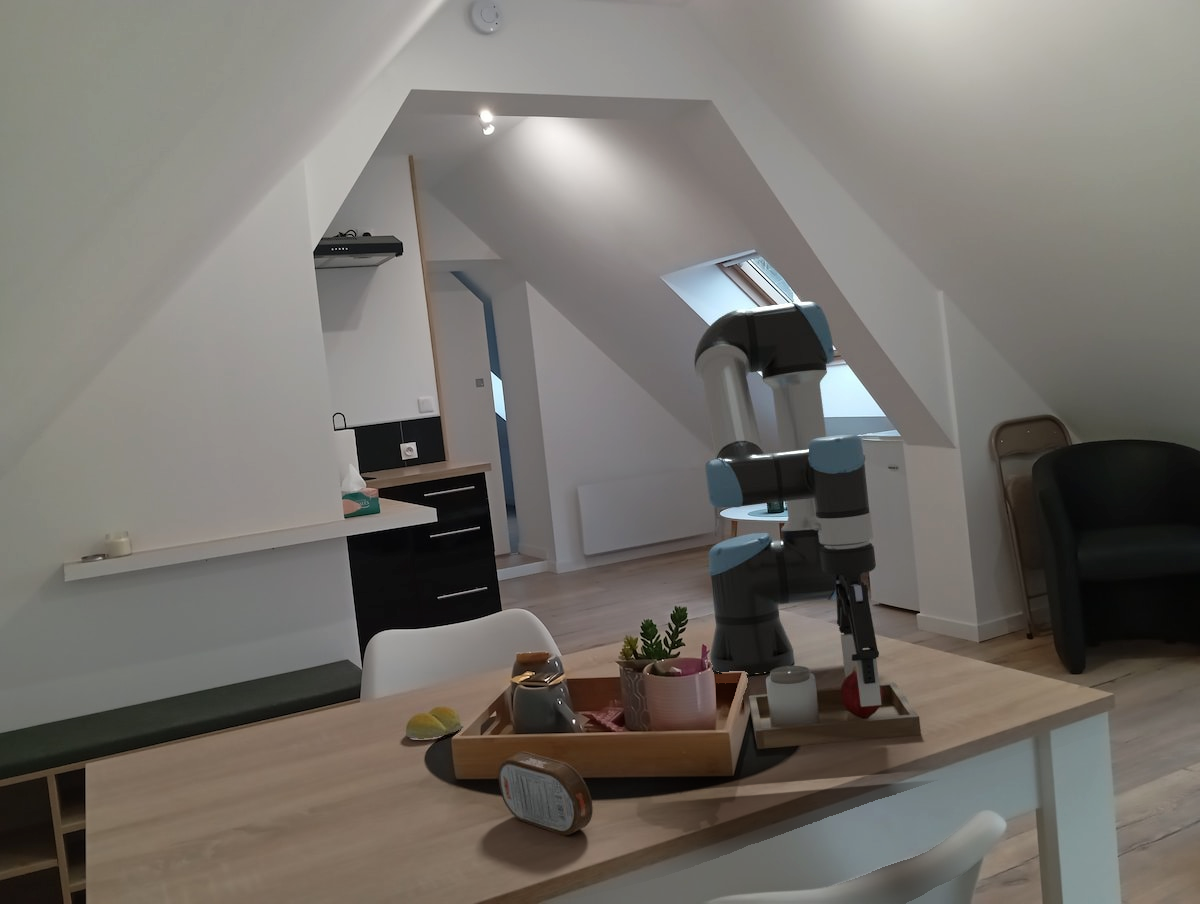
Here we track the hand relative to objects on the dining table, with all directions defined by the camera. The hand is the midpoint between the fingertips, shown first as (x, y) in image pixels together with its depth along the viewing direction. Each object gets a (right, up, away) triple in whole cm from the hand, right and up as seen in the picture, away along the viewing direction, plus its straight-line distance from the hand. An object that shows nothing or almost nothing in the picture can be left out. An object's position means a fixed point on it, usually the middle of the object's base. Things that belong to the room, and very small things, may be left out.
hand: (862, 690), depth 143 cm
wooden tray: (-4, -6, +1) cm, 7 cm away
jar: (-9, -5, +1) cm, 11 cm away
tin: (-44, -12, -20) cm, 50 cm away
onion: (0, -4, 0) cm, 4 cm away
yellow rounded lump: (-65, -13, +22) cm, 70 cm away
